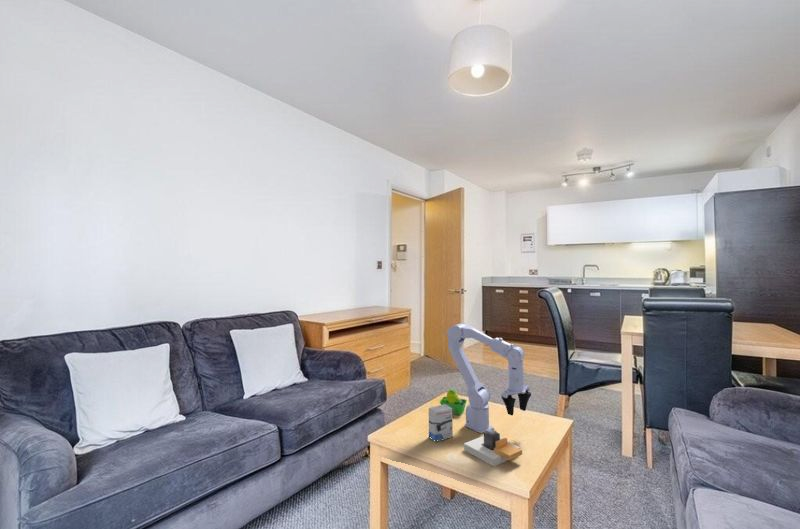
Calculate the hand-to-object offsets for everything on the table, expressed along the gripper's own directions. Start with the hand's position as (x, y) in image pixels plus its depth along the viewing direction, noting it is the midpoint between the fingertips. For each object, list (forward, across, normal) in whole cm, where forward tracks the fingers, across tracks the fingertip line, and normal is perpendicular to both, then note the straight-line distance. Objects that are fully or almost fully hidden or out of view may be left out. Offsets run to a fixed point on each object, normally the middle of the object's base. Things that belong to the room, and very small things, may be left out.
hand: (516, 412), depth 147 cm
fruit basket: (+10, -3, +34) cm, 35 cm away
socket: (+9, -18, -3) cm, 21 cm away
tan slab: (+7, -18, -10) cm, 22 cm away
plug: (+10, -18, -3) cm, 21 cm away
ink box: (+10, -25, +17) cm, 32 cm away
